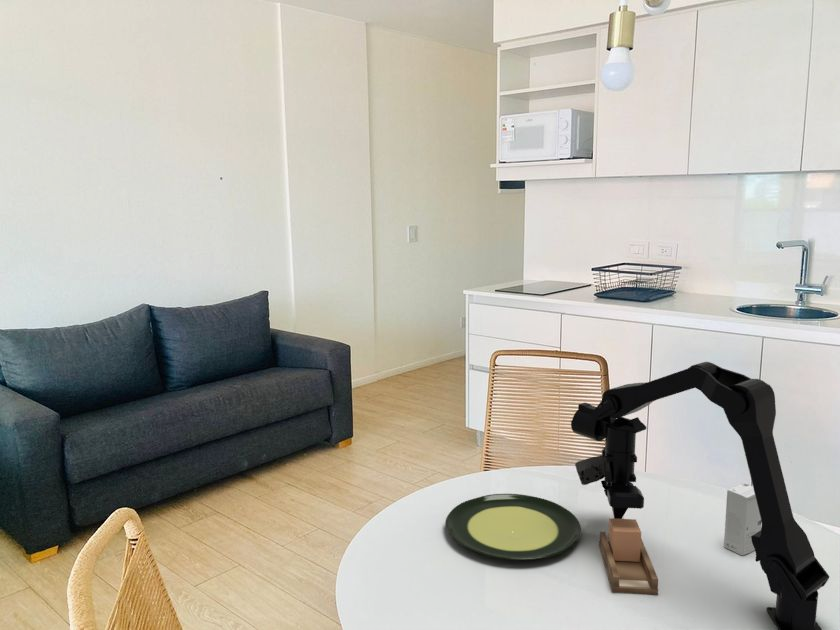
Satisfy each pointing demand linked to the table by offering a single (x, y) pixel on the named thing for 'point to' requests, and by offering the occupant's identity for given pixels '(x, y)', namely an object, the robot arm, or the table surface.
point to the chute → (629, 571)
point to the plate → (513, 526)
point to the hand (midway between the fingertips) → (617, 520)
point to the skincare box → (741, 519)
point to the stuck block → (625, 539)
